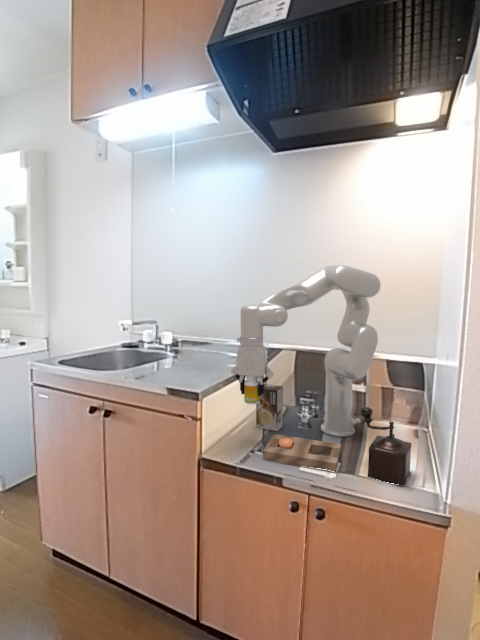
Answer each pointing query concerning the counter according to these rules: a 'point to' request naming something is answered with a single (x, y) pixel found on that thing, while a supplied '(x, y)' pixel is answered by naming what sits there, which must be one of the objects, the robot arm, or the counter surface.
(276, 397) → the coffee box
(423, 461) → the counter surface
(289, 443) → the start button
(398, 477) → the manual coffee grinder
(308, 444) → the board
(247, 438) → the counter surface
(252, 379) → the supplement bottle
